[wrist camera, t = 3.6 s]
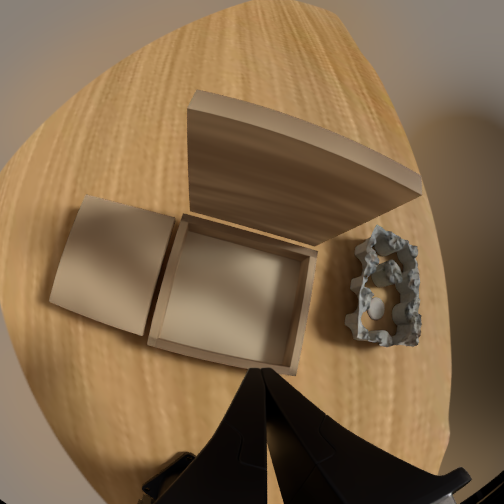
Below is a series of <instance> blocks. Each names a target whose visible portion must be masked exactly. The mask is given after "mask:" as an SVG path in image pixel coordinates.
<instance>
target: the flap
mask: <svg viewBox="0 0 504 504" xmlns="http://www.w3.org/2000/svg"><path fill="white" fill-rule="evenodd" d="M187 144H188V178H189V200H190V211H192V212H195V213H199V214H203V215H206V216H210V217H214V218H217V219H221V220H225V221H228V222H232V223H235V224H239V225H243V226H246V227H250V228H253V229H257V230H260V231H264V232H267V233H271V234H274V235H278V236H281V237H285V238H288V239H291V240H295V241H298V242H302V243H305V244H308V245H312V246H317V245H319V244H321V243H323V242H325V241H327V240H329V239H332V238H334V237H336V236H338V235H340V234H342V233H344V232H347V231H349V230H351V229H353V228H355V227H357V226H359V225H361V224H363V223H366V222H368V221H370V220H372V219H374V218H376V217H378V216H380V215H382V214H384V213H386V212H389V211H391V210H393V209H395V208H397V207H399V206H401V205H403V204H405V203H407V202H409V201H411V200H413V199H415V198H417V197H419V196H421V195H422V181H421V175H419V174H418V173H416V172H414V171H412V170H410V169H409V168H407V167H405V166H403V165H401V164H400V163H398V162H396V161H394V160H392V159H390V158H388V157H386V156H384V155H382V154H380V153H378V152H376V151H374V150H372V149H370V148H368V147H366V146H364V145H362V144H360V143H357V142H355V141H353V140H351V139H349V138H346V137H344V136H342V135H339V134H337V133H335V132H332V131H330V130H327V129H325V128H322V127H320V126H317V125H315V124H312V123H310V122H307V121H304V120H301V119H299V118H296V117H293V116H290V115H287V114H284V113H281V112H278V111H275V110H272V109H269V108H266V107H263V106H259V105H256V104H253V103H249V102H246V101H242V100H238V99H235V98H231V97H227V96H223V95H219V94H215V93H210V92H206V91H201V90H196V92H195V94H194V96H193V98H192V100H191V102H190V104H189V106H188V108H187Z"/></svg>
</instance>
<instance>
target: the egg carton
mask: <svg viewBox="0 0 504 504" xmlns="http://www.w3.org/2000/svg"><path fill="white" fill-rule="evenodd" d="M373 245H374V247H375V250H376V251H377V253H378V254H379V255H381V256H387V255H389V254H391V253H394V252H397V256H398V259H399V261H400V262H401V263H402V264H403V273H401V271H400V268H399V266H398V265H397V263H395V261H394V260H389V261H386V262H384V263H381V264H379V258H377V255H376V254H375V253H376V251H375V250H373V249H372V248H371V247H372V246H373ZM417 255H418V250H417V246H412V245H410V244H409V241H408V240H403V239H401V237H399V236H397V235H395V234H394V233H392V232H390V231H385V230H384V229H383V228H382V227H380V226H379V225H376V227H375V229H374V231H373V233H372V235H371V237H370V238H368V239H366V241H365V242H363V243H362V244H359V245H358V246H356V247H355V256H356V257H357V258H358V259H359V260H360V261H361V263H362V266H363V271H362V275H361V276H360V277H357V278H354V279H352V280H351V286H350V289H351V290H352V291H353V292H355V294H356V295H357V297H358V307H357V309H356V311H355V312H354V313H352V314H346V318H345V325H346V326H348V327H349V328H350V329H351V331H352V334H353V339H355V340H359V341H370V342H379V345H380V346H384V347H390V346H393V345H405V346H413V347H414V346H417V345H418V343H419V340H418V338H419V337H420V334H421V330H420V328H421V325H422V324H421V315H420V314H418V309H419V305H420V299H419V285H420V278H419V271H418V268H417V267H418V264H417V261H416V259H415V258H416V257H417ZM378 264H379V265H378ZM370 274H371V278H372V281H373V282H374V284H375V285H376V286H377V287H385V286H388V285H392V284H395V286H396V289H397V291H398V292H399V293H400V303H399V304H396V305H395V306H394V308H393V310H392V319H393V321H394V323H395V324H396V325H397V332H396V335H394V336H392V337H391V336H390V334H389V333H388V332H387V331H385V330H377V331H368V330H367V329H366V328H365V327H364V326H363V325H362V323H361V316H362V313H363V312H365V311H366V310H367V311H368V314H369V316H370V318H371V319H373V320H378V319H380V318H381V317H382V316H383V314H384V309H385V308H384V304H383V302H382V300H381V299H380V298H377V297H375V298H372V296H374V294H373V293H372V292H371V290H370V289H369V288H366V287H364V285H365V283H366V282H367V278H368V277H369V276H370ZM366 275H367V277H366V278H365V276H366ZM371 298H372V299H371Z"/></svg>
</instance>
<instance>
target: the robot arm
mask: <svg viewBox="0 0 504 504" xmlns="http://www.w3.org/2000/svg"><path fill="white" fill-rule="evenodd" d="M267 444H268V448H269V451H270V455H271V459H272V463H273V466H274V470H275V474H276V477H277V481H278V485H279V488H280V492H281V495H282V499H283V502H284V504H456V502H455V500H454V497H453V494H454V493H456V491H458V490H460V489H461V488H463V487H464V486H465V485H466V484H468V483H469V482H470V481H471V480H472V479H471V477H470V475H469V474H468V472H467V471H466V470H465V469H464V468H462V467H459V468H457V469H455V470H453V471H451V472H450V473H448V474H446V475H442V476H437V475H433V474H430V473H428V472H426V471H424V470H422V469H420V468H417V467H415V466H413V465H411V464H409V463H407V462H405V461H403V460H401V459H399V458H397V457H395V456H393V455H391V454H389V453H387V452H386V451H384V450H382V449H380V448H378V447H376V446H375V445H373V444H371V443H369V442H367V441H366V440H364V439H362V438H360V437H359V436H357V435H355V434H354V433H352V432H350V431H349V430H347V429H346V428H344V427H343V426H341V425H340V424H339V423H337V422H336V421H335V420H333V419H332V418H331V417H329V416H328V415H326V414H325V413H324V412H323V411H321V410H320V409H319V408H318V407H317V406H315V405H314V404H313V403H312V402H311V401H309V400H308V399H307V398H306V397H305V396H303V395H302V394H301V393H300V392H299V391H297V390H296V389H295V388H294V387H293V386H292V385H290V384H289V383H288V382H287V381H286V380H285V379H284V378H282V377H281V376H280V375H279V374H278V373H277V372H276V371H275V370H273V369H272V368H270V367H267V368H261V369H260V368H249V369H248V371H247V373H246V375H245V377H244V379H243V381H242V383H241V385H240V387H239V389H238V391H237V393H236V395H235V397H234V399H233V400H232V402H231V404H230V406H229V408H228V410H227V412H226V414H225V416H224V418H223V420H222V421H221V423H220V425H219V426H218V428H217V430H216V431H215V433H214V435H213V436H212V438H211V439H210V440H209V442H208V443H207V444H206V446H205V447H204V448H203V449H202V450H201V452H200V453H199V454H198V455H197V456H195V455H194V454H192V453H189V452H188V453H185V454H183V455H182V456H181V457H180V458H178V459H177V460H176V461H174V462H173V463H172V464H171V465H169V466H168V467H167V468H165V469H164V470H163V471H161V472H160V473H159V474H157V475H156V476H154V477H153V478H152V479H150V480H149V481H147V482H146V483H145V484H143V486H142V490H143V491H144V492H145V493H146V494H148V495H149V496H150V497H149V496H147V495H143V497H142V500H140V499H139V501H138V503H137V504H267ZM187 457H191V458H192V459H187ZM146 488H149V490H148V489H146ZM151 497H152V498H153V499H152V498H151ZM0 504H6V503H5V502H3V501H2V500H0ZM460 504H504V471H502V472H501V473H500V474H499V475H498V476H496V477H495V478H494V479H493V480H491V482H489V483H488V484H486V485H485V486H484V487H482V488H481V489H480V490H479V491H477V492H476V493H474V494H473V495H472V496H470V497H469V498H467V499H466V500H464V501H463V502H461V503H460Z"/></svg>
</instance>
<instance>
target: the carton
mask: <svg viewBox="0 0 504 504" xmlns="http://www.w3.org/2000/svg"><path fill="white" fill-rule="evenodd" d="M174 224H175V217H171V216H167V215H163V214H160V213H156V212H152V211H148V210H144V209H141V208H137V207H133V206H129V205H125V204H121V203H118V202H114V201H110V200H106V199H102V198H98V197H94V196H90V195H85V198H84V200H83V202H82V204H81V207H80V209H79V211H78V214H77V216H76V219H75V221H74V224H73V226H72V229H71V232H70V234H69V237H68V240H67V243H66V245H65V248H64V251H63V254H62V257H61V260H60V263H59V267H58V270H57V273H56V277H55V280H54V284H53V287H52V291H51V295H50V299H49V302H51V303H54V304H56V305H58V306H61V307H63V308H65V309H68V310H70V311H73V312H75V313H78V314H80V315H83V316H85V317H88V318H91V319H93V320H96V321H99V322H102V323H104V324H107V325H110V326H113V327H116V328H119V329H122V330H125V331H128V332H131V333H134V334H137V335H141V336H144V331H145V327H146V323H147V319H148V315H149V311H150V307H151V303H152V299H153V295H154V291H155V288H156V284H157V280H158V277H159V273H160V270H161V266H162V263H163V259H164V256H165V253H166V250H167V246H168V243H169V240H170V237H171V234H172V230H173V227H174ZM317 253H318V251H315V250H312V249H309V248H305V247H302V246H298V245H295V244H291V243H288V242H285V241H281V240H278V239H274V238H271V237H267V236H264V235H260V234H256V233H253V232H249V231H246V230H242V229H239V228H235V227H231V226H228V225H224V224H221V223H217V222H213V221H210V220H206V219H202V218H198V217H195V216H191V215H187V214H184V213H183V215H182V219H181V222H180V225H179V228H178V231H177V234H176V237H175V240H174V244H173V247H172V250H171V254H170V257H169V260H168V264H167V267H166V271H165V274H164V278H163V282H162V285H161V289H160V293H159V296H158V300H157V304H156V308H155V312H154V316H153V320H152V324H151V329H150V333H149V337H148V342H147V345H150V346H153V347H157V348H160V349H164V350H167V351H171V352H175V353H178V354H182V355H186V356H190V357H194V358H198V359H203V360H207V361H212V362H216V363H221V364H226V365H230V366H236V367H241V368H246V369H249V368H260V369H261V368H267V367H270V368H272V369H273V370H275V371H276V372H277V373H278V374H284V375H291V376H296V373H297V369H298V364H299V359H300V354H301V349H302V344H303V339H304V334H305V328H306V323H307V317H308V312H309V306H310V300H311V294H312V287H313V281H314V274H315V268H316V261H317Z"/></svg>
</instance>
